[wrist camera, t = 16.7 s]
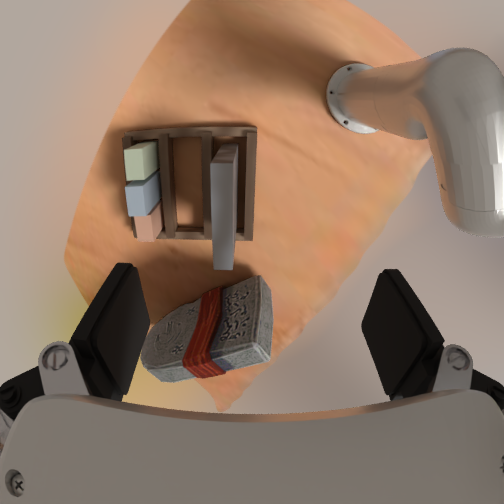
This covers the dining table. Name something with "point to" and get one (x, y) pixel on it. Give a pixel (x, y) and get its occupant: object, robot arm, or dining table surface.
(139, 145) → the sage offcut board
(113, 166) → the dining table surface
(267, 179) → the dining table surface
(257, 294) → the decorative stone tablet
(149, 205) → the slate offcut board
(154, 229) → the terracotta offcut board
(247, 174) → the walnut rack
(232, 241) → the charcoal panel
